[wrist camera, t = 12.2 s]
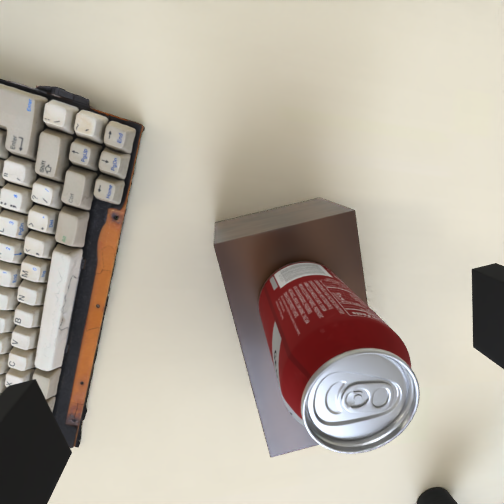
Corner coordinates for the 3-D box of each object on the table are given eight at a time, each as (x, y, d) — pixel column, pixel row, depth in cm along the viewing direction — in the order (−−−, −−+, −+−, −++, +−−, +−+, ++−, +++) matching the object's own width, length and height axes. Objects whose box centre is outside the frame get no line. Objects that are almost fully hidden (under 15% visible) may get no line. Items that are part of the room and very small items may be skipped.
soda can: (259, 257, 25) (295, 338, 14) (345, 259, 26) (446, 337, 14) (255, 336, 27) (282, 467, 15) (334, 336, 28) (418, 461, 16)
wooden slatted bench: (259, 392, 39) (270, 457, 30) (214, 222, 33) (213, 244, 24) (348, 369, 39) (384, 427, 31) (319, 197, 33) (355, 210, 25)
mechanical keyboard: (79, 445, 39) (67, 472, 35) (-103, 418, 36) (-136, 444, 32) (147, 116, 30) (138, 110, 27) (-86, 43, 27) (-128, 27, 24)
